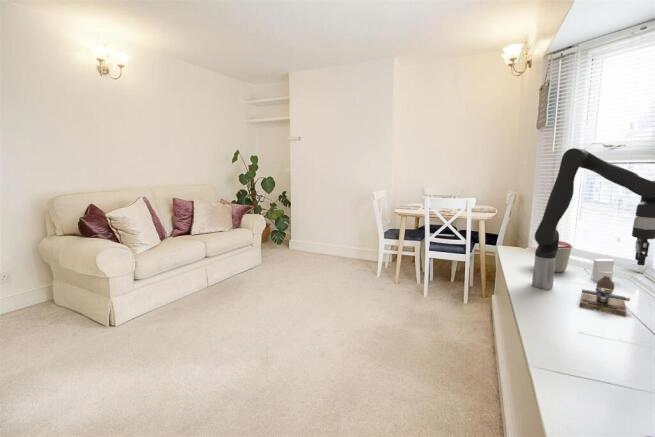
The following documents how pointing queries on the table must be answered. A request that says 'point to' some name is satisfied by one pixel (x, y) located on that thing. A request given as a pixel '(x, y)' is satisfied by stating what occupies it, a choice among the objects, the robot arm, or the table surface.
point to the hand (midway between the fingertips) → (639, 262)
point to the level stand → (603, 304)
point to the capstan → (604, 295)
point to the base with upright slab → (602, 269)
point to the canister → (562, 256)
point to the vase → (606, 283)
